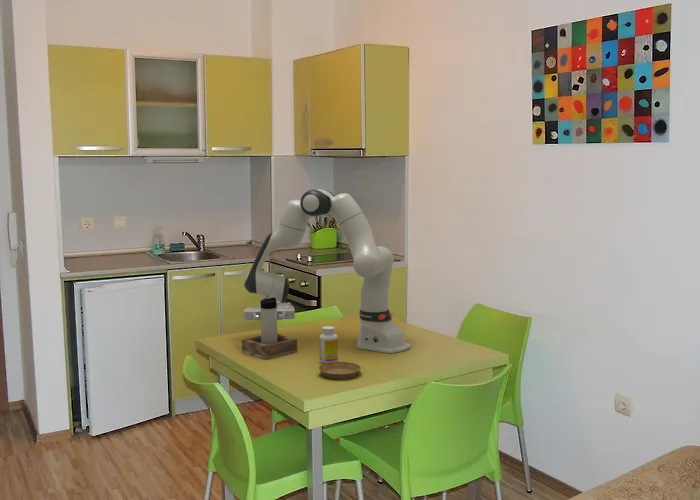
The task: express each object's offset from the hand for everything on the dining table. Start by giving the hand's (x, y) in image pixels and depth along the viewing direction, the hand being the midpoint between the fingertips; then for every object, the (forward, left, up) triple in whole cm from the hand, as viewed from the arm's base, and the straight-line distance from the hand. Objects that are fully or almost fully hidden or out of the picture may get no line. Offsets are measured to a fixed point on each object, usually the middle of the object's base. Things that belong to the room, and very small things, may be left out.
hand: (268, 317), depth 277 cm
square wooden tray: (0, 0, -13) cm, 14 cm away
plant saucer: (-40, +1, -14) cm, 43 cm away
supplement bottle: (-26, -7, -14) cm, 30 cm away
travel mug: (0, 0, -13) cm, 13 cm away
